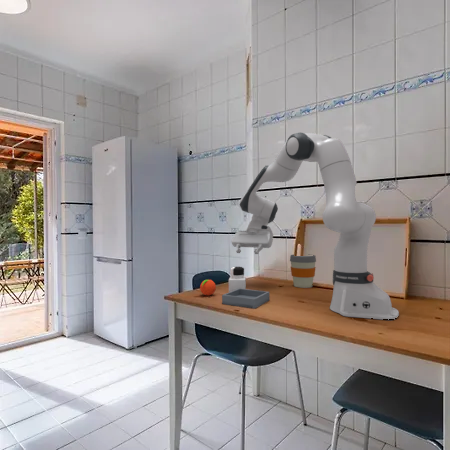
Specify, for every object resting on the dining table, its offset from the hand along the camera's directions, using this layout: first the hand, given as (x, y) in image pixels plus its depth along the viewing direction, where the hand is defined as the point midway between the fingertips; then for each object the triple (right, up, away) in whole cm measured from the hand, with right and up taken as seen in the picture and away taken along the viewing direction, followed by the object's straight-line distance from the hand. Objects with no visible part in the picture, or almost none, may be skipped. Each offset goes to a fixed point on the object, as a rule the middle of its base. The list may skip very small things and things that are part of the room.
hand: (246, 252), depth 152 cm
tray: (-2, -18, -22) cm, 28 cm away
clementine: (-18, -18, -10) cm, 27 cm away
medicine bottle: (-5, -18, -8) cm, 20 cm away
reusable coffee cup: (+28, -17, +9) cm, 34 cm away
